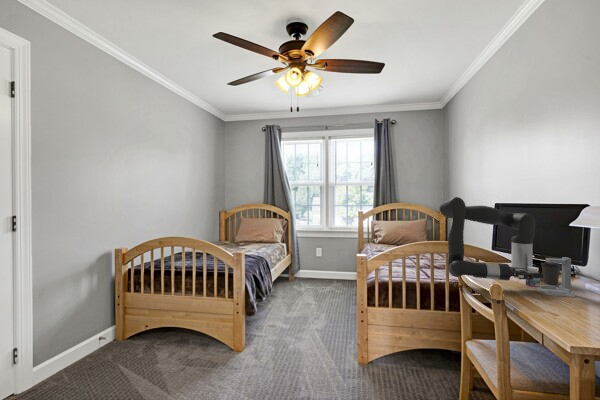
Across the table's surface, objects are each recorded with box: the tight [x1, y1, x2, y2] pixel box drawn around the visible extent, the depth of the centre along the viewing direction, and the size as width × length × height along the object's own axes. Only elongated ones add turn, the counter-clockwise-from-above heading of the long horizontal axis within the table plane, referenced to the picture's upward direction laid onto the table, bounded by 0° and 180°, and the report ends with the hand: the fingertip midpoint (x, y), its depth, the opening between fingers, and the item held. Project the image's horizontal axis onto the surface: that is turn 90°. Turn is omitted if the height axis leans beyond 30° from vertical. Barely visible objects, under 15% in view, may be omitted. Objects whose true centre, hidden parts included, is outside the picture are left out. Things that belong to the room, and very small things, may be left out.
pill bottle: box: [524, 266, 541, 290], centre depth 137 cm, size 5×5×9 cm
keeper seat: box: [538, 256, 576, 298], centre depth 135 cm, size 10×10×16 cm
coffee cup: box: [540, 261, 562, 286], centre depth 149 cm, size 8×8×10 cm
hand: (539, 274), depth 136 cm, fingers closed on pill bottle, 5 cm apart
